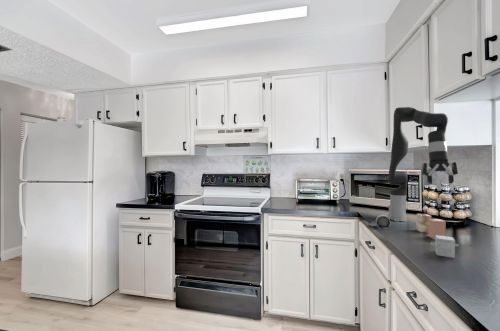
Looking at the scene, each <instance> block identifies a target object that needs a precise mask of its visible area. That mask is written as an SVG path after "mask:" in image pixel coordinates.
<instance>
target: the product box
mask: <svg viewBox="0 0 500 331" xmlns="http://www.w3.org/2000/svg"><path fill="white" fill-rule="evenodd" d="M434 242H435V245H434V252H435V254H436V256H439V257H446V258H452V259H455V257H456V254H455V253H456V246H455V244H456V240H455V238H454V237H453V236H446V235H445V236H440V235H435V239H434Z"/></svg>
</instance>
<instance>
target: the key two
mask: <svg viewBox="0 0 500 331" xmlns="http://www.w3.org/2000/svg"><path fill="white" fill-rule="evenodd" d="M446 226H447V225H446V221H445V220H443V219H441V218H440V219H439V218H431V219H429V230H428V233H427V236H428V237H429V238H430V239H433V240H435V235H440V236H446V229H447V228H446Z"/></svg>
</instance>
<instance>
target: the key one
mask: <svg viewBox="0 0 500 331" xmlns="http://www.w3.org/2000/svg"><path fill="white" fill-rule="evenodd" d="M429 219H432V215H429V214H427V213H416V220H415V221H416V224H415V227H416V228H415V230H416V231H417V232H419V233H427V234H428V230H429Z"/></svg>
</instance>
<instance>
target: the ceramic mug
mask: <svg viewBox="0 0 500 331" xmlns="http://www.w3.org/2000/svg"><path fill="white" fill-rule="evenodd" d="M391 221H392V220H390V219H389V216H387V215H385V214H379V215H377V216H376V218H375V221H372V222H370V223H369V225H370V227H376V226H377V227H378V228H379V229H382V230H384V228H383V227H390V226H391V224H392V222H391ZM382 226H383V227H382Z"/></svg>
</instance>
